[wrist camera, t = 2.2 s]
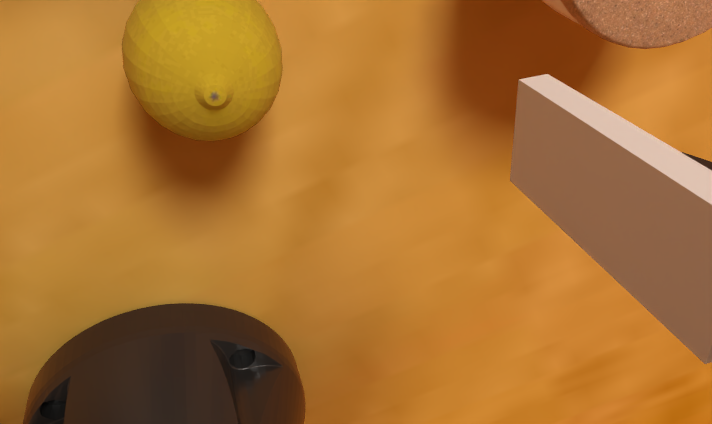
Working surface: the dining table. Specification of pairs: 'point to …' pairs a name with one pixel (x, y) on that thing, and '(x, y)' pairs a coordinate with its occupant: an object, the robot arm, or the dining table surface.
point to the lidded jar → (639, 19)
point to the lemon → (203, 64)
